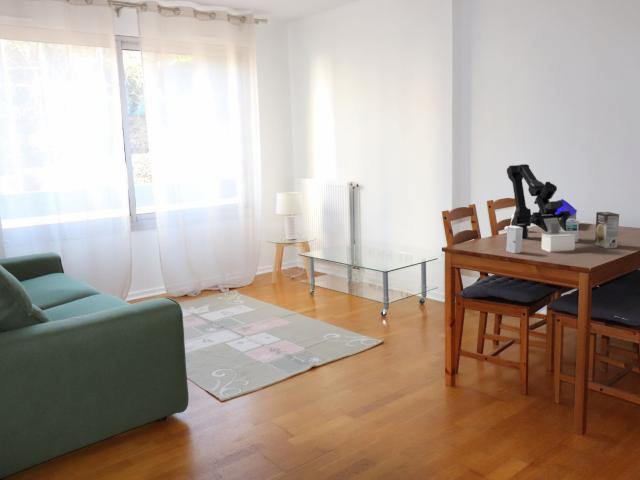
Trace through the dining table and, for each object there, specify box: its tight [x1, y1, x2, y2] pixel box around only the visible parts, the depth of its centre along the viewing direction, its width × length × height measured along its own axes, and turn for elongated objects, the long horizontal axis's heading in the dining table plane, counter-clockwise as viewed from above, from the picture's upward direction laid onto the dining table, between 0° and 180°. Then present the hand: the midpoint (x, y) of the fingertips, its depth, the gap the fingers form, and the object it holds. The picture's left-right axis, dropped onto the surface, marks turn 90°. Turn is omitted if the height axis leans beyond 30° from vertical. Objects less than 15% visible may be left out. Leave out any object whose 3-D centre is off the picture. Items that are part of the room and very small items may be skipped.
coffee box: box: [594, 211, 620, 249], centre depth 273 cm, size 9×6×16 cm
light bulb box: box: [560, 219, 580, 243], centre depth 291 cm, size 11×7×11 cm, turn 168°
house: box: [544, 198, 578, 230], centre depth 336 cm, size 25×16×16 cm, turn 151°
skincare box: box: [505, 225, 523, 254], centre depth 267 cm, size 6×4×12 cm
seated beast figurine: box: [504, 210, 515, 231], centre depth 324 cm, size 10×9×12 cm
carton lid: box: [541, 222, 576, 237], centre depth 268 cm, size 8×12×5 cm
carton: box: [540, 235, 576, 253], centre depth 269 cm, size 8×12×7 cm, turn 98°
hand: (556, 230), depth 270 cm, fingers open, 9 cm apart
